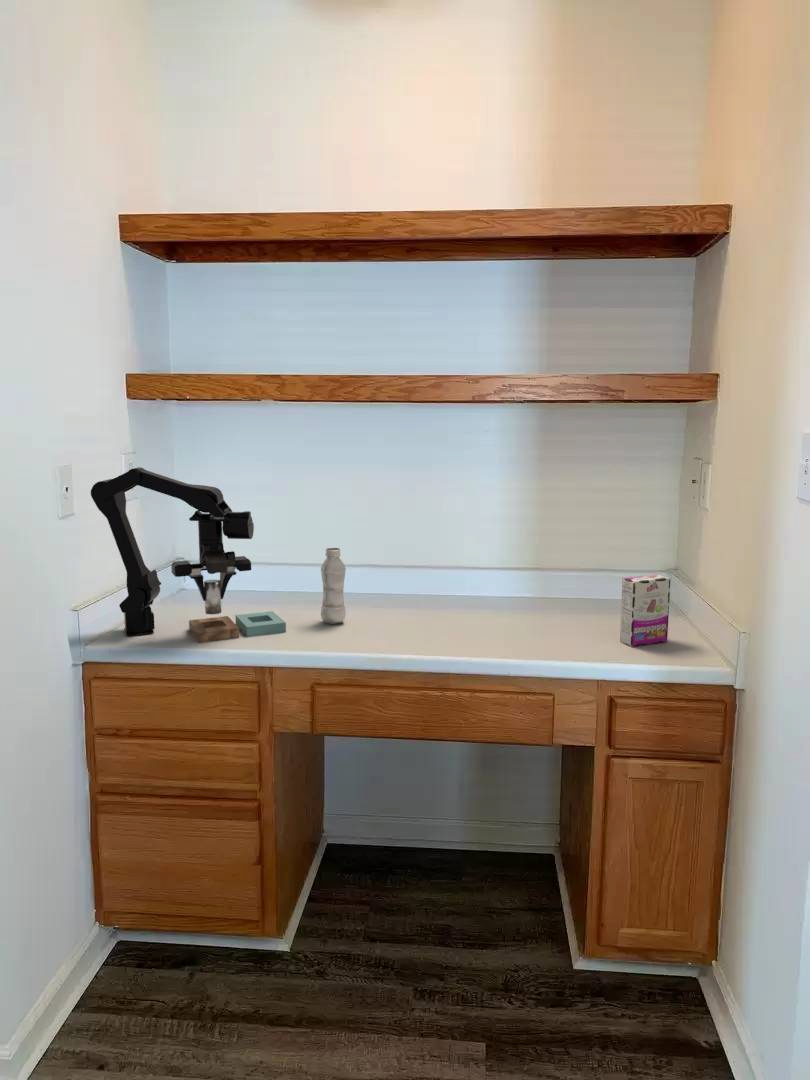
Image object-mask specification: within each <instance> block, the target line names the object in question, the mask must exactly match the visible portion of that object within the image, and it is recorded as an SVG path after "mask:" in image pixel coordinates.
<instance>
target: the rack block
mask: <svg viewBox="0 0 810 1080" xmlns="http://www.w3.org/2000/svg"><path fill="white" fill-rule="evenodd" d="M235 624H236V625H237V626H238V627H239V631H241V632H242V633H243V634H244V635H245V636H246V637H248V638H249V637H255V636H264V635H266V636H267V635H272V634H280V633H281V634H282V633H286V632H287V624H286V621H284V619H282V617H280V616H279V615H277V614H276V613H275V612H274V611H261V612H260V611H259V612H254V613H253V612H251V613H241V614H236V615H235Z"/></svg>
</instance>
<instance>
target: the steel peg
mask: <svg viewBox="0 0 810 1080" xmlns="http://www.w3.org/2000/svg"><path fill="white" fill-rule="evenodd" d="M203 583H204V589H205V601H204V610H205V611H204V612H205V614H206V615H218V614H221V613H222V612H223V611H222V599H221V581H220V579H206V580H203Z"/></svg>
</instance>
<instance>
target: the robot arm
mask: <svg viewBox="0 0 810 1080" xmlns="http://www.w3.org/2000/svg"><path fill="white" fill-rule="evenodd" d="M136 486H139V487H142V488H145V489H147V490H151V491H154V492H158V493H161V494H163V495H167V496H169V497H173V498H175V499H178V500H181V501H182V502H185V503H186V504H187V505H189V506H190V507H191V508H193V509H195V510H196V511H195V512H194V514H192V515H191V517H189V519H188V520H189V521H190V522H198V523H197V527H198V529H197V530H198V551H199V556H198V557H199V559H198V560H199V563H191V562H189V560H177V561H173V562H172V563H171V566H170V567H171V569H170V570H171V573H172V574H173V576H174V577H176V578H177V577H178V578H179V577H189V578H190V579H193V581H194V582H195V584H196V587H197V588H198V591H199V593H200V597H201V599H202V601H203V602H205V589H204V575H203V574H202V571H203V572H204V571H206V572H207V573H208V574H209V575H210V574H211V575H214V574H218V573H219V580H220V581H221V600H223V599H224V597H225V593H226V591H227V588H228V584H229V582H230V580H231V578H232V577H233V576H236V575H237V571H236V570H238V572H249V571H252V561H251V560H250V559H249V558H247V557H246V556H245V555H242V556H241V555H239V556H236V553H235V551H232V550H231V551H226V552H225V549H224V547H225V546H224V543H223V535H224V537H227V539H228V540H251V539H253V536H254V532H255V531H254V529H255V524H254V521H253V518H252V515H251V514H252V513H251V511H249V510H246V511H233V510H232V509H231V508H230V506H229V505H228V503H227V501H225V499H224V495H223V493H222V490H220V488H218V487H216V486H210V485H203V484H192V483H191V484H190V483H186V482H184V481H180V480H178V479H174V478H171V477H168V476H165V475H162V474H159V473H156V472H152V471H149V470H146V469H145V468H143V467H140V466H139V467H135V468H134V467H133V468H130V469H129V470H128V471H127V472H124V473H122V474H120V475H119V476H118V475H117V476H116V477H114V478H109V479H103V480H101V481H97V482H96V483H94V484H93V485H92V487H91V489H90V497H91V498H92V500H93V503H94V504H95V506H96V507H97V509H98V511H100V512H101V514H102V515H103V516H104V517H105V518H106V520H107V521H108V524H109V528H110V530H111V532H112V536H113V538H114V541H115V544H116V547H117V549H118V552H119V555H120V558H121V560H122V563H123V565H124V569H125V571H126V590H127V594H128V595H127V596H126V597H125V599H123V601H121V602H120V603H119V608H120V610H121V613H123V614H124V615H123V616H124V628H123V632H124V633H125V635H126V637H133V636H144V635H149V634H150V635H151V634H152V635H153V634H154V633H155V632H154V630H155V628H156V627H155V613H154V612H153V611H152V608H151V606H152V605H153V603H154V600H155V599H156V598H157V597H159V595H160V592H161V586H162V582H161V581H160V580H159V577H158V572H157V570H156V569H153V570H152V571H151V570H150V569H149V568H148V567H147V566H146V564H145V562H144V559H143V556H142V553H141V550H140V548H139V546H138V542H137V540H136V537H135V533H134V531H133V528H132V526H131V523H130V521H129V517H128V515H127V496H126V492H128V491H130V490H132V489H134V488H135V487H136ZM160 585H161V586H160Z"/></svg>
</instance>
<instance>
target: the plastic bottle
mask: <svg viewBox="0 0 810 1080" xmlns="http://www.w3.org/2000/svg"><path fill="white" fill-rule="evenodd" d="M325 557H326V559H325V560H324V561H323V562H322V564H321V567H320V573H321V580H322V602H321V604H322V605H321V609H320V617H321V618H320V619H321V620H322V622H323V623H325V624H332V623H334V624H340V623H343V622H344V620H345V619H346V613H347V611H346V605H345V597H344V588H345V587H344V586H345V578H346V577H345V576H346V569H347V568H346V565H345V563H344V562H343V561H342V559H341V548H338V547H326V549H325Z"/></svg>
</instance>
